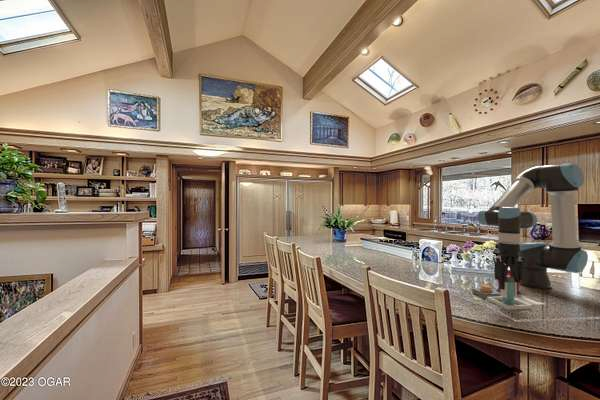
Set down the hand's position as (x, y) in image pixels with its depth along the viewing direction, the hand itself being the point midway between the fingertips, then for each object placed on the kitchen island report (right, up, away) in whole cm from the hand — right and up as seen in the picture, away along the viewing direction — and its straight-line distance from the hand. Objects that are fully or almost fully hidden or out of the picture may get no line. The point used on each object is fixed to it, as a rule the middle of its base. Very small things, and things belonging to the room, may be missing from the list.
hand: (508, 296), depth 117 cm
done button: (-2, -3, +11) cm, 11 cm away
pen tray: (0, -4, 0) cm, 4 cm away
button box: (-2, -4, +11) cm, 12 cm away
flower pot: (+16, -5, +21) cm, 27 cm away
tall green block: (0, -3, 0) cm, 3 cm away
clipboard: (+11, -4, +6) cm, 14 cm away
